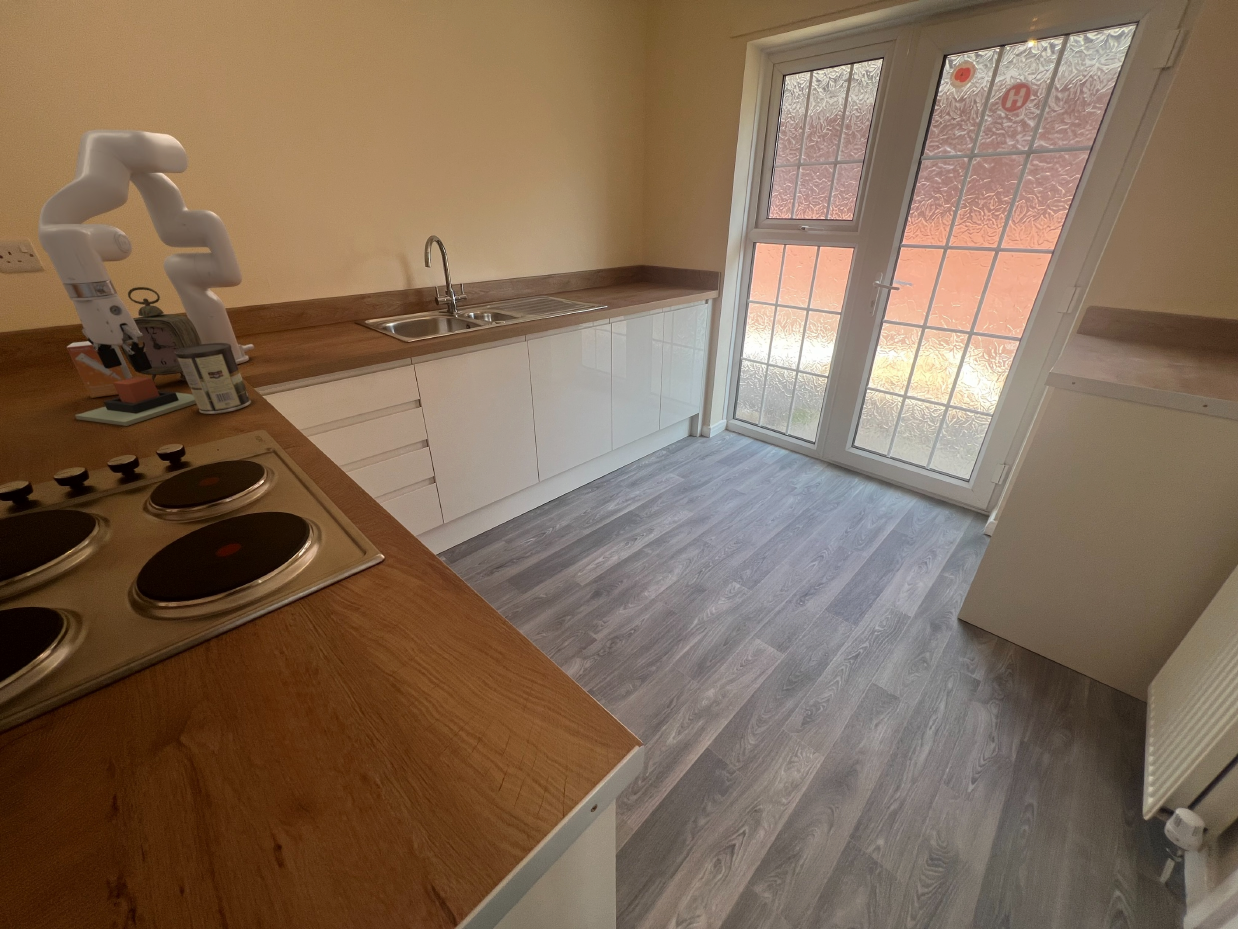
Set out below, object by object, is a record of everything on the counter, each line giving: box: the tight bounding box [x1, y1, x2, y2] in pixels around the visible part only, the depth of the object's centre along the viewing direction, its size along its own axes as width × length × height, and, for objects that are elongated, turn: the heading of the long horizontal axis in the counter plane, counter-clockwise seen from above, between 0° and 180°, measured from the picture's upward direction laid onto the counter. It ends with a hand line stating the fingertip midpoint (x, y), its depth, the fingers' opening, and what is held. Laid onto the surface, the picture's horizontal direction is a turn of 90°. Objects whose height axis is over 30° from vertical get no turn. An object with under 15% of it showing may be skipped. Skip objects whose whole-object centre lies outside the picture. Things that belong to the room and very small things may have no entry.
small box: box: [66, 340, 133, 399], centre depth 127 cm, size 8×6×13 cm
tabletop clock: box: [120, 286, 202, 385], centre depth 132 cm, size 14×9×25 cm, turn 99°
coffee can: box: [174, 343, 252, 415], centre depth 116 cm, size 10×10×14 cm
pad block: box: [113, 376, 160, 403], centre depth 117 cm, size 5×5×6 cm
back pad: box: [74, 390, 197, 427], centre depth 118 cm, size 18×16×3 cm
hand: (128, 368), depth 115 cm, fingers open, 9 cm apart
